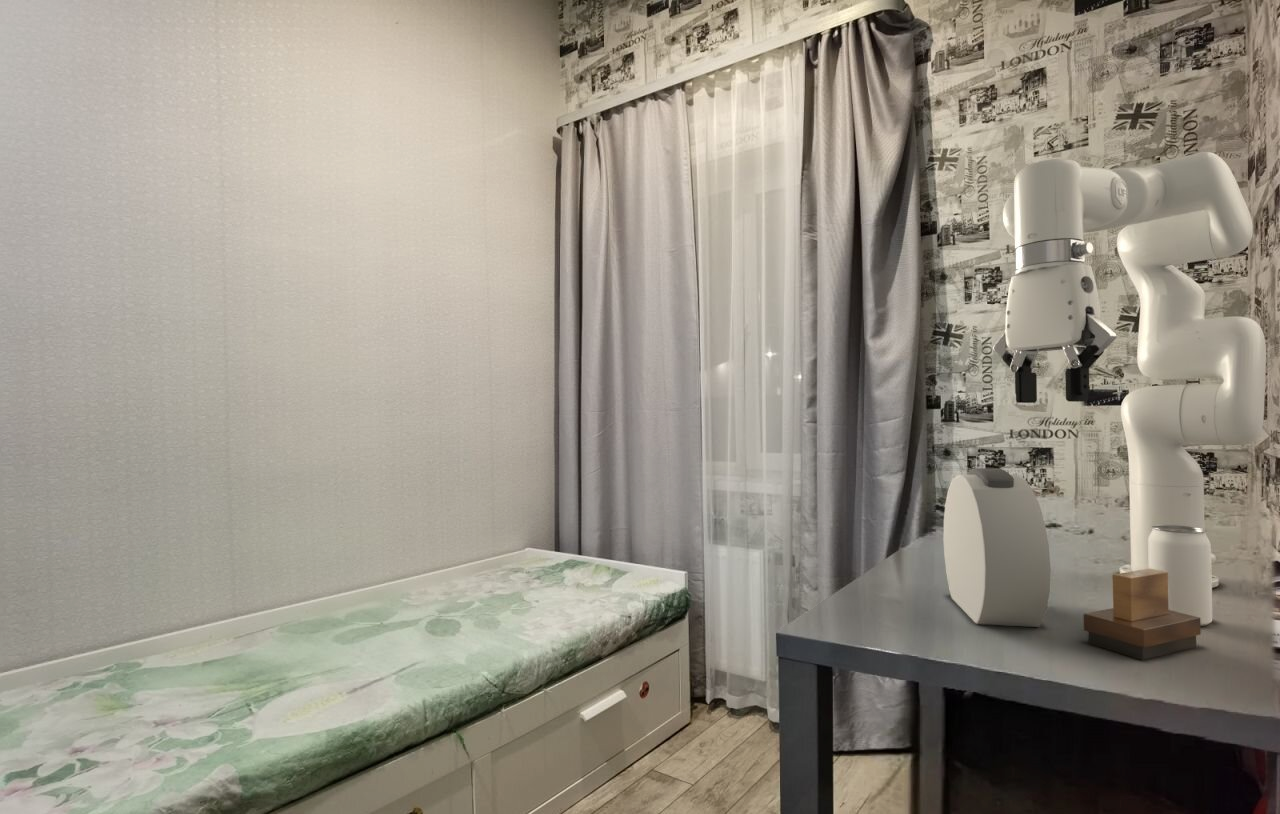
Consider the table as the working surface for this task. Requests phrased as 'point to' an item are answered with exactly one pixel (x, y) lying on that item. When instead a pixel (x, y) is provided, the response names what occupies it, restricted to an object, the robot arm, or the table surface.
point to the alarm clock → (996, 549)
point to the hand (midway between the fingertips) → (1050, 400)
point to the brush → (1141, 618)
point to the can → (1184, 568)
